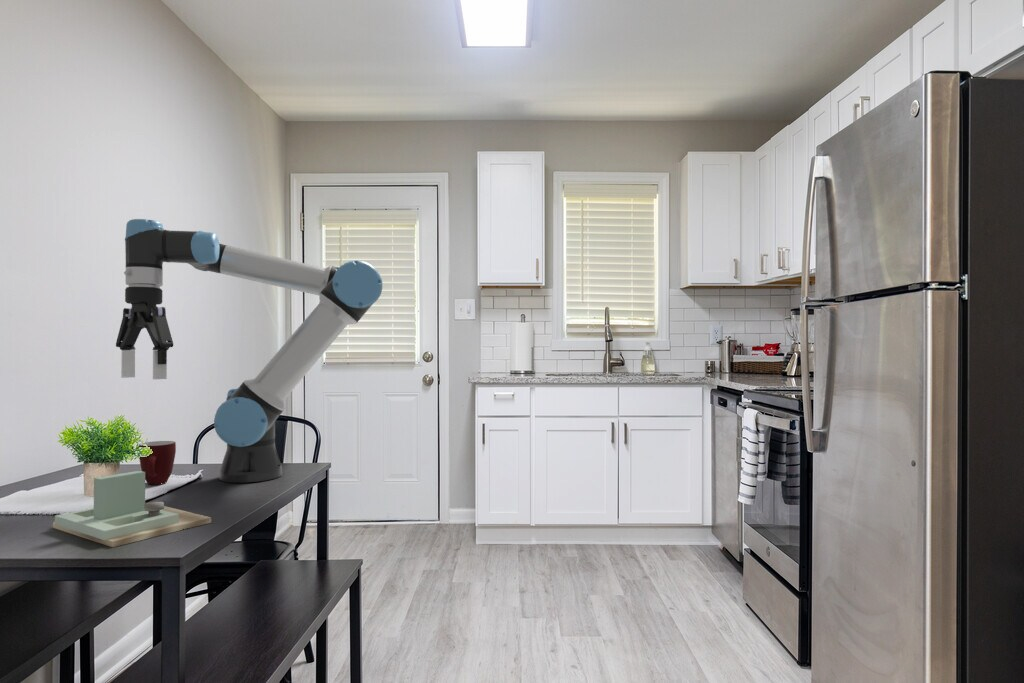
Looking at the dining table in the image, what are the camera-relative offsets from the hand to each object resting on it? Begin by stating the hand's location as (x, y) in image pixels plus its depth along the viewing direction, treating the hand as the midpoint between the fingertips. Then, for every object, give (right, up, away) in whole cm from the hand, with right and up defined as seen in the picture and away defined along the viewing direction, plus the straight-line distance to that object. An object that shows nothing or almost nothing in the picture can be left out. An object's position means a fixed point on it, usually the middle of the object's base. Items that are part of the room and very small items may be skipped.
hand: (143, 378), depth 148 cm
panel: (+12, -26, -29) cm, 40 cm away
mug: (-2, -27, +10) cm, 29 cm away
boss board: (+13, -27, -26) cm, 40 cm away
